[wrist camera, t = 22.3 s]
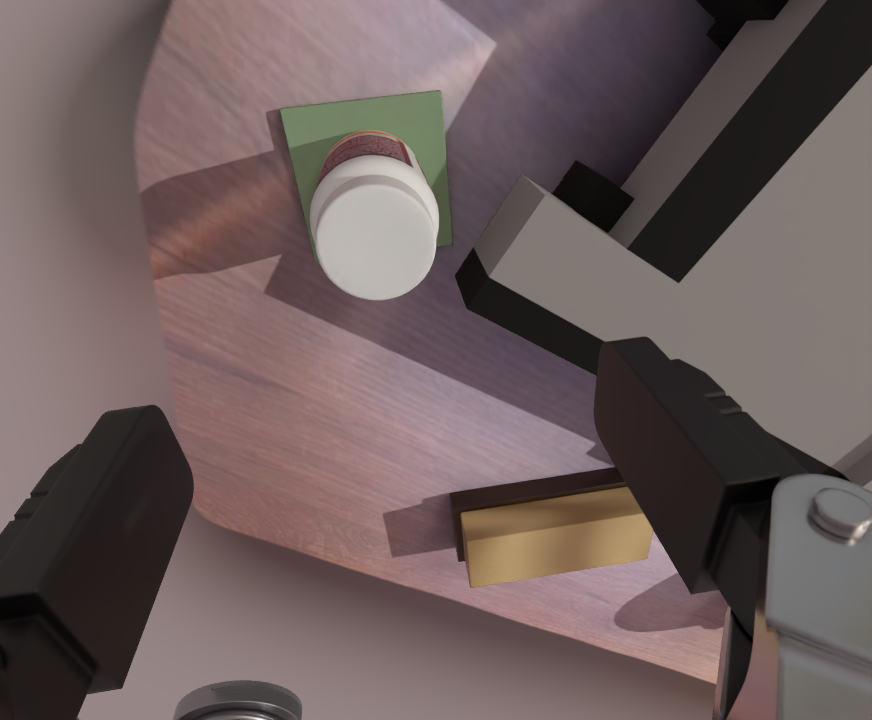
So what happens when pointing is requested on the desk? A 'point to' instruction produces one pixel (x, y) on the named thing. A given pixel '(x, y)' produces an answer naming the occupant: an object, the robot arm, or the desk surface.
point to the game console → (723, 235)
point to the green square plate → (396, 115)
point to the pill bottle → (374, 217)
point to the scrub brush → (548, 527)
